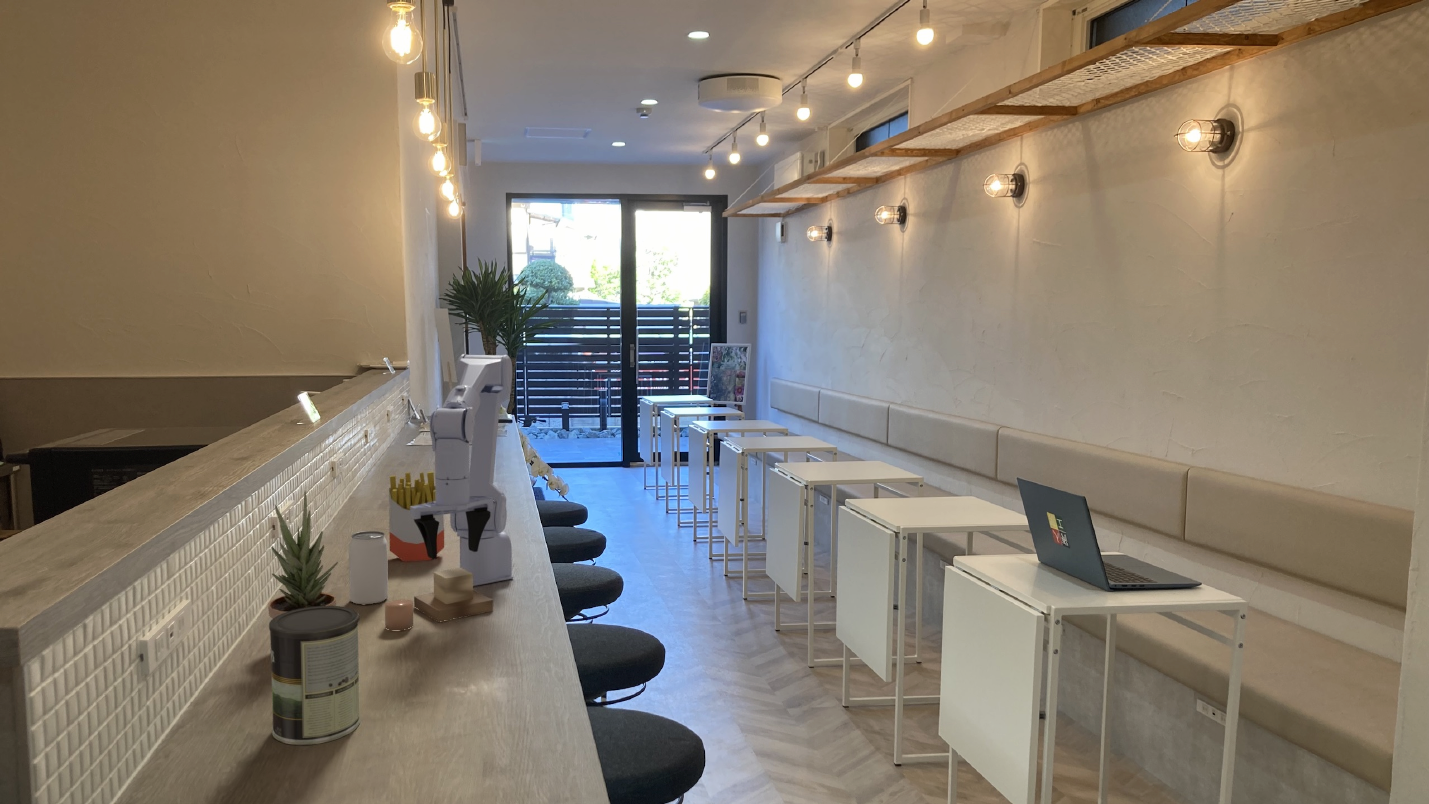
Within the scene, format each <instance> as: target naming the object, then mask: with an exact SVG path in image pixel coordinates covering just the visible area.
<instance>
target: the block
mask: <svg viewBox="0 0 1429 804" xmlns="http://www.w3.org/2000/svg"><path fill="white" fill-rule="evenodd" d="M473 590H474V586H473V574H472V573H470V572H468V571H466V570H464V569H462V568H460V567H454V568H451V569H442V570H438V571H433V593H434V597H435V598H436V599H438V600H440V601H441V602H443V603H445V604H450V603H455V602H460V601H465V600H470V599H473Z"/></svg>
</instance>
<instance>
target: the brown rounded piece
mask: <svg viewBox="0 0 1429 804" xmlns="http://www.w3.org/2000/svg"><path fill="white" fill-rule="evenodd" d="M384 619H385V620H384V621H385V622H384V625H385V626H384V627H385V628H387V629H389V630H404V629H408V628H410V627H412V626H413V627H414V600H413V601H412V600H409V599H403V598H401V599H394V600H393V599H392V600H390V601H387V602H385V604H384ZM413 627H412V628H413ZM408 630H409V629H408ZM404 631H405V630H404Z"/></svg>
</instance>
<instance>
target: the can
mask: <svg viewBox="0 0 1429 804" xmlns="http://www.w3.org/2000/svg"><path fill="white" fill-rule="evenodd" d="M350 537H351V539H350V541H349V543H348V574H349V575H348V576H349V577H348V579H349V601H350V602H351V603H352V602H353V603H352V604H354V603H356V604H355V605H357V604H372V605H374V604H373V603H378V604H380V603H379V602H381V603H383V602H385V601H386V600H387V598H388V596H389V580H388V579H389V574H388V573H389V572H388V571H389V570H388V569H389V568H388V566H389V565H388V562H389V561H388V540H387V539H386V537H385V532H383V531H377V530H369V531H368V530H367V531H359V532H355V533H353V534H351V535H350ZM385 599H386V600H385ZM384 600H385V601H384ZM382 601H383V602H382Z"/></svg>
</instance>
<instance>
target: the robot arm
mask: <svg viewBox="0 0 1429 804" xmlns="http://www.w3.org/2000/svg"><path fill="white" fill-rule="evenodd" d="M456 376H457V377H456V378H457V381H458V383H459V385H456V386H454V387H452V389H451V390H450V392H449V393H448V395H447V397H446V399H445V401H444V403H443V404H442V407H441V408H440V407H439V408H437V409H436V411H435V410H433V411H432V413H431V415H430V418H429V419H430V420H429V433H430V434H429V435H430V438H431V446H432V447H431V449H432V451H433V452H434V461H435V462H434V471H435V472H434V486H435V501H434V502H430V503H425V504H421V505H416V506H410V517H411V518H413V519H414V522H415V523H416V525H417V527H418V528H419V530H420V532H421V535H422V537H423V540H424V543H425V546H426V550H427V555H428V557H429V558H432V559H431V560H435V559H437V556H438V554H437V533H438V527H439V522H438V521H436V520H435V518H433V516H436V515H444V516H445V515H449V523H450V526H451V527H450V528H451V529H452V531H453V532H454V533H456V537H459V568H462V569H464V570H466V571H468V572H470V573H472V574H473V587H476V586H480V585H486V584H491V583H497V582H501V581H506V580H507V581H508V580H513V579H514V578H515V577H514V575H513V574H512V573H513V572H512V571H513V570H512V569H513V568H512V567H513V566H512V561H513V559H512V558H513V557H512V556H513V555H512V554H513V553H512V552H513V549H512V548H513V547H512V542H511V538H510V536H509V535H508V533H507V532H505V528H506V525H507V520H508V519H507V517H508V515H507V512H508V511H507V498H506V495H505V493H504V492H503V491H502V490H501V489H500V488H498V487H497V486H495V485H494V479H495V478H494V477H495V464H496V456H497V455H496V453H497V442H498V441H497V440H498V432H499V431H498V429H499V428H498V427H499V417H500V413H501V412H500V411H501V406H502V403H503V402H506V401H507V400H509V399H510V395H511V393H512V384H513V383H512V381H513V363H512V359H511V358H510V356H509V355H508V354H503V355H501V354H499V355H498V354H497V355H496V354H494V355H493V354H488V355H487V354H467V353H462V354H461V355H460V356H459V357H458V359H457V362H456ZM471 440H472V442H471ZM470 442H471V451H470ZM470 452H471V453H470Z"/></svg>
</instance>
